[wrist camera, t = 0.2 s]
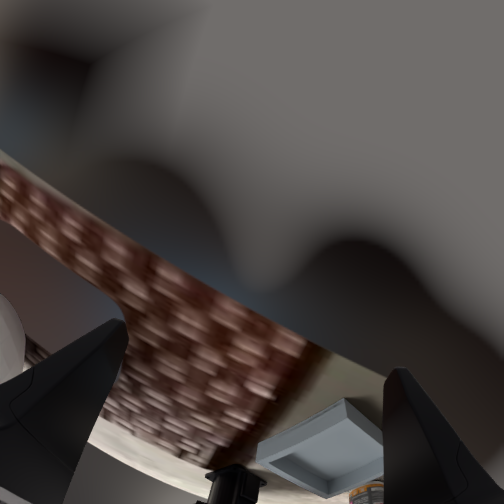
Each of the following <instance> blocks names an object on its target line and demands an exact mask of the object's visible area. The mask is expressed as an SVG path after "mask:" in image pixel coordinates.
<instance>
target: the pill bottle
mask: <svg viewBox="0 0 504 504" xmlns="http://www.w3.org/2000/svg"><path fill="white" fill-rule="evenodd" d="M383 491H384V483H383V482H380V481H369V482H367V483H365V484H363V485H360V486H358V487H356V488H353V489H351V490H350V492H349V503H350V504H383Z"/></svg>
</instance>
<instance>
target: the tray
mask: <svg viewBox="0 0 504 504" xmlns="http://www.w3.org/2000/svg"><path fill="white" fill-rule="evenodd" d="M256 463H258V464H260V465H262V466H263V467H265V468H267V469H268V470H270V471H272V472H274V473H275V474H277V475H279V476H281V477H283V478H285V479H286V480H288V481H290V482H292V483H294V484H296V485H298V486H300V487H302V488H304V489H306V490H308V491H310V492H312V493H314V494H316V495H318V496H320V497H323V498H325V499H328V498H330V497H333V496H336V495H338V494H341V493H344V492H346V491H349V490H351V489H353V488H356V487H358V486H360V485H363V484H365V483H367V482H369V481H371V480H374V479H376V478H378V477H380V476H382V475H384V466H383V435H382V431H381V430H380V429H379V428H378V427H377V426H375V425H374V424H373V423H372V422H371V421H370V420H369V419H367V418H366V417H365V416H364V415H363V414H362V413H360V412H359V411H358V410H357V409H356V408H355V407H354V406H353V405H351V404H350V403H349V402H348V401H347V400H346V399H345V398H343V399H341V400H339V401H338V402H336V403H334V404H333V405H331V406H329V407H328V408H326V409H324V410H322V411H321V412H319V413H317V414H315V415H313V416H312V417H310V418H308V419H306V420H304V421H302V422H301V423H299V424H297V425H295V426H293V427H291V428H289V429H287V430H285V431H283V432H281V433H279V434H277V435H275V436H273V437H271V438H268V439H266V440H264V441H262V442H260V443H258V449H257V455H256Z"/></svg>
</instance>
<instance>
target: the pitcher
mask: <svg viewBox="0 0 504 504" xmlns="http://www.w3.org/2000/svg"><path fill="white" fill-rule="evenodd" d="M25 345H26V338H25V332H24V329H23V326H22V323H21V320H20V318H19V316H18V314H17V312H16V311H15V309H14V307H13V306H12V305H11V303H10V302H9V301H8V300H7V299H6V298H5V297H4V296H3V295H2V294H1V293H0V384H2V383H4V382H6V381H8V380H10V379H12V378H14V377H16V376H17V375H19V374H21V373H22V372H23V366H24V356H25Z"/></svg>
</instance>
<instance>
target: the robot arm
mask: <svg viewBox="0 0 504 504" xmlns="http://www.w3.org/2000/svg"><path fill="white" fill-rule="evenodd" d="M128 342H129V336H128V332H127V328H126V324H125V322H124V321H123V320H119V319H116V318H113V319H111V320H109V321H107V322H106V323H104V324H102V325H101V326H99V327H97V328H96V329H94V330H92V331H91V332H89V333H87V334H86V335H84V336H82V337H80V338H79V339H77V340H76V341H74V342H72V343H70V344H69V345H67V346H66V347H64V348H62V349H61V350H59V351H57V352H56V353H54V354H52V355H51V356H49V357H47V358H46V359H44V360H42V361H41V362H39V363H38V364H36V365H35V366H32V367H31V368H29V369H28V370H26V371H24V372H23V373H21V374H19V375H17V376H16V377H14V378H12V379H10V380H8V381H6V382H4V383H2V384H0V504H62V503H63V501H64V498H65V495H66V493H67V490H68V487H69V485H70V482H71V479H72V477H73V475H74V472H75V469H76V467H77V464H78V462H79V459H80V457H81V455H82V452H83V450H84V447H85V445H86V443H87V441H88V438H89V436H90V434H91V431H92V429H93V427H94V425H95V422H96V420H97V418H98V416H99V413H100V411H101V409H102V407H103V405H104V403H105V400H106V398H107V396H108V394H109V392H110V390H111V388H112V386H113V383H114V381H115V379H116V376H117V373H118V371H119V368H120V365H121V362H122V359H123V356H124V354H125V351H126V348H127V345H128ZM382 435H383V466H384V491H383V504H504V490H503V489H502V488H500V487H499V486H498V485H497V484H496V483H495V481H494V480H493V479H492V478H491V477H490V475H489V474H488V473H487V472H486V471H485V470H484V469H483V467H482V466H481V465H480V464H479V463H478V461H477V460H476V459H475V458H474V457H473V455H472V454H471V453H470V451H469V450H468V448H467V447H466V446H465V445H464V443H463V442H462V440H460V437H459V436H458V435H457V433H456V432H455V431H454V429H453V428H452V427H451V425H450V424H449V422H448V421H447V420H446V418H445V417H444V416H443V414H442V413H441V412H440V410H439V409H438V408H437V406H436V405H435V404H434V402H433V401H432V400H431V398H430V397H429V396H428V394H427V393H426V392H425V391H424V389H423V388H422V387H421V385H420V384H419V383H418V382H417V380H416V379H415V378H414V376H413V375H412V374H411V373H410V371H409V370H408V369H407V368H405V367H395V368H394V369H393V370H392V372H391V373H390V375H389V376H388V378H387V379H386V381H385V383H384V390H383V417H382ZM205 478H207V479H208V480H210V481H212V482H213V483H212V486H211V490H210V494H209V497H208V501H207V503H204V502H201V501H197V502H196V504H256V503H257V501H258V494H259V488H260V487H263V486H266V485H267V482H266V481H264V480H262V479H260V478H259V477H257V476H255V475H253V474H252V473H250V472H248V471H246V470H245V469H243V468H241V467H239V466H238V465H231V466H228V467H225V468H223V469H220V470H217V471H214V472H211V473H208V474H206V475H205Z"/></svg>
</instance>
